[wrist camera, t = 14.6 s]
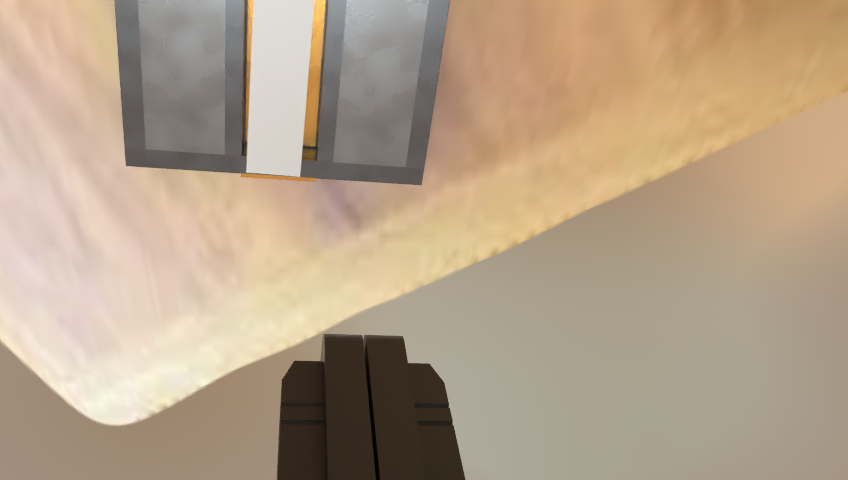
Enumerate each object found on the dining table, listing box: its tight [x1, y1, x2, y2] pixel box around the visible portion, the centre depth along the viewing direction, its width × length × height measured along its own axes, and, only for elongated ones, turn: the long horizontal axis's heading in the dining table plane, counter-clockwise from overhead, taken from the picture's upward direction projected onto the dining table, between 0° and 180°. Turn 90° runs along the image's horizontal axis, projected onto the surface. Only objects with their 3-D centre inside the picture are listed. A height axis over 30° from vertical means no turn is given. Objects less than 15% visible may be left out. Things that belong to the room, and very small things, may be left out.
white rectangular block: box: [246, 0, 315, 177], centre depth 43 cm, size 3×10×6 cm, turn 171°
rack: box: [115, 0, 450, 185], centre depth 45 cm, size 18×15×2 cm
